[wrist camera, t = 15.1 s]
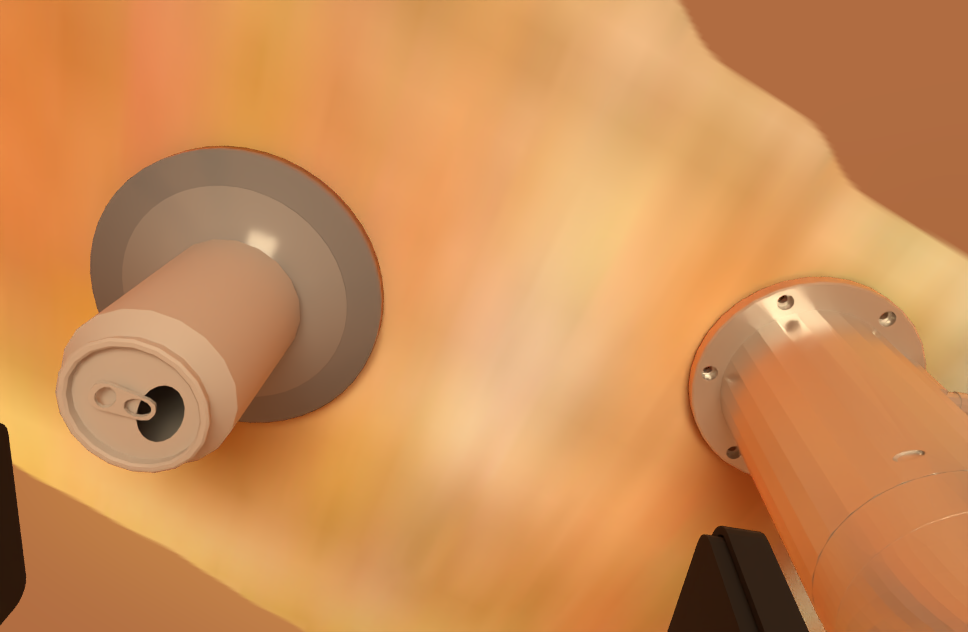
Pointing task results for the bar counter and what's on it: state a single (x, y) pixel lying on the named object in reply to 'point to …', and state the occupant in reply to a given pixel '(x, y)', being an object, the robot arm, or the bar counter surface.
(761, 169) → the bar counter surface
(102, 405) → the can
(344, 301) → the dish
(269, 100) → the bar counter surface
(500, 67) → the bar counter surface
